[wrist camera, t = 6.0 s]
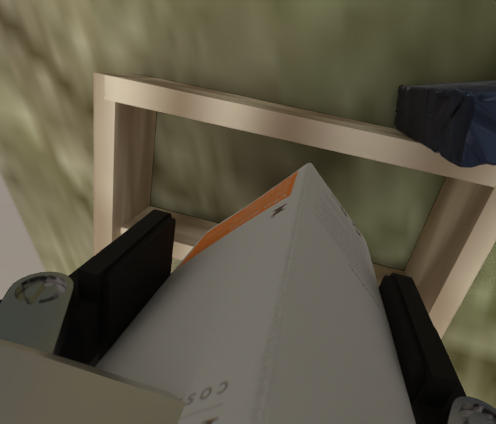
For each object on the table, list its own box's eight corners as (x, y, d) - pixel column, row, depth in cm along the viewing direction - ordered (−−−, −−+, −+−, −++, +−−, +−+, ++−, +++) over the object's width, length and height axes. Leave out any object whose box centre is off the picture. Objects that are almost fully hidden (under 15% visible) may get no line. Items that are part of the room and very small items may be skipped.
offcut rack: (482, 147, 19) (536, 168, 14) (372, 379, 26) (383, 441, 22) (141, 74, 21) (93, 72, 17) (129, 308, 29) (94, 350, 24)
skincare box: (309, 156, 13) (252, 516, 2) (367, 239, 14) (552, 834, 3) (199, 231, 15) (-108, 598, 4) (254, 299, 16) (109, 762, 5)
